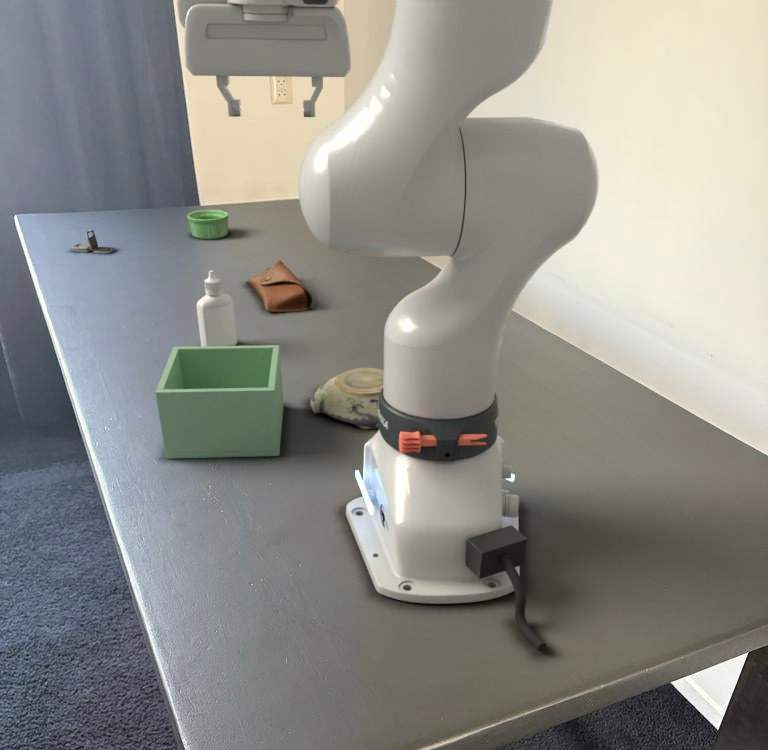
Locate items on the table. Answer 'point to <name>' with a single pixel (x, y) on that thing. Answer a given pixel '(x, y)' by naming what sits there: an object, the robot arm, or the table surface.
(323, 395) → the decorative bowl
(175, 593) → the table surface
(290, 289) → the sunglasses case
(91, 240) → the strap clip
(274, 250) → the table surface
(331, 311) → the table surface
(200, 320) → the eye dropper bottle
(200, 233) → the ramekin
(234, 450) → the bin
